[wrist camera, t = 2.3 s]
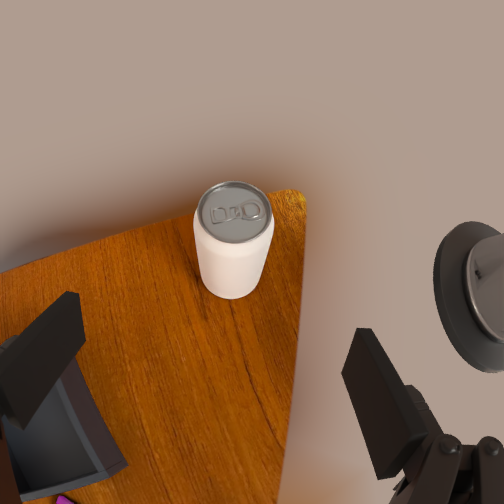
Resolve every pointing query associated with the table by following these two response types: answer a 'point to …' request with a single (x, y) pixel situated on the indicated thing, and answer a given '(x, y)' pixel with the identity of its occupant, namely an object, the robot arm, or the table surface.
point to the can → (232, 237)
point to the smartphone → (63, 500)
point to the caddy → (62, 442)
